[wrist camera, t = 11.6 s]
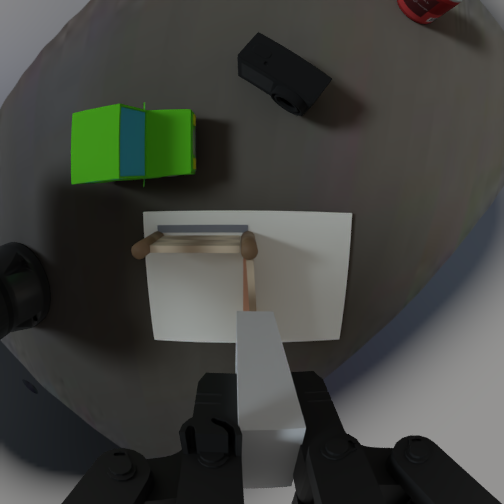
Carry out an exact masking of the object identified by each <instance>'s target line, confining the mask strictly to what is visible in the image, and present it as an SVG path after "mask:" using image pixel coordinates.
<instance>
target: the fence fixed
mask: <svg viewBox="0 0 504 504" xmlns="http://www.w3.org/2000/svg"><path fill="white" fill-rule="evenodd" d="M131 252H132V255H133V256H134V257H135V258H136V259H143V258H144V257H145V256H147V255H148V254H149V253H240V235H176V236H164V234H163V233H161V232H159V231H156V232H154V233H152V234H151V235H149V236H147V237H146V238H144V239H142V240H141V241H139V242H137V243H136V244H134V245H133V246H132V249H131ZM257 254H258V248H257V244H256V239H255V235H254V234H253V233H252V232H251V231H245V232H244V233H243V234H242V235H241V255H242V257H243V258H245V259H247V260H252V259H254V258H255V257H256V256H257Z"/></svg>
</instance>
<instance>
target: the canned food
mask: <svg viewBox="0 0 504 504" xmlns="http://www.w3.org/2000/svg"><path fill="white" fill-rule="evenodd" d="M462 1H463V0H397V2H398V5H399V7H400V9H401V10H402V12H403V13H404V14H405V15H406V16H407V17H408V18H410V19H411V20H413V21H415V22H417V23H420V24H428V23H431V22H433V21H434V20H436V19H437V18H439V17H440V16H442V15H443V14H444V13H446V12H447V11H449V10H450V9H452V8H453V7H455V6H456V5H458V4H459V3H460V2H462Z"/></svg>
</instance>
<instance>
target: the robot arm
mask: <svg viewBox="0 0 504 504" xmlns="http://www.w3.org/2000/svg"><path fill="white" fill-rule="evenodd" d="M49 306H50V289H49V284H48V280H47V277H46V274H45V271H44V269H43V267H42V265H41V263H40V262H39V260H38V259H37V257H36V256H35V255H34V254H33V252H32V251H31V250H29V249H28V248H27V247H26V246H24V245H22V244H20V243H16V242H11V243H7V244H4V245H2V246H0V340H1V339H2V338H3V337H5V336H6V335H7V334H8V333H10V332H14V331H19V330H24V329H29V328H32V327H34V326H36V325H37V324H38V323H39V322H41V321H42V320H43V319H44V318H45V317H46V315H47V313H48V310H49ZM235 366H236V374H226V373H206V374H205V375H204V376H203V377H202V378H201V379H200V381H199V382H198V387H197V395H196V400H195V406H194V413H193V417H192V418H190V419H189V420H188V421H186V422H185V423H184V424H183V425H182V427H181V429H180V431H179V435H180V441H181V446H182V450H181V451H179V452H178V453H176V454H174V455H171V456H167V457H161V458H153V459H145V457H144V456H143V455H141V454H140V453H138V452H136V451H134V450H130V449H125V448H120V449H112V450H110V451H107V452H104V453H103V454H102V455H101V456H100V457H98V458H97V460H96V461H95V462H94V463H93V465H92V466H91V467H90V469H89V470H88V471H87V472H86V474H85V475H84V476H83V477H82V479H81V480H80V481H79V482H78V484H77V485H76V486H75V488H74V489H73V490H72V491H71V493H70V494H69V495H68V497H67V498H66V499H65V500H64V501H63V503H62V504H244V496H243V488H273V487H287V486H291V485H292V481H293V478H294V483H295V488H296V492H295V495H294V498H293V501H292V504H502V503H500V502H499V501H498V500H497V499H496V498H495V497H493V496H492V495H491V494H490V493H489V492H488V491H487V490H486V489H485V488H484V487H482V486H481V485H480V484H479V483H478V482H477V481H476V480H475V479H474V478H473V477H471V476H470V475H469V474H468V473H467V472H466V471H465V470H464V469H462V467H460V466H459V465H458V464H457V463H456V462H455V461H454V460H453V459H452V458H451V457H449V456H448V455H447V454H446V453H445V452H444V451H443V450H442V449H441V448H440V447H438V445H436V444H435V443H434V442H433V441H431V440H430V439H428V438H426V437H422V436H407V437H404V438H402V439H401V440H399V441H398V442H397V443H396V444H395V446H394V448H374V447H366V446H363V445H360V443H359V442H358V441H357V439H356V438H354V437H352V436H351V435H349V434H346V432H345V431H344V429H343V426H342V424H341V421H340V419H339V416H338V414H337V412H336V409H335V407H334V404H333V402H332V401H331V397H330V395H329V393H328V392H327V388H326V386H325V383H324V381H323V379H322V378H321V377H319V376H318V375H317V374H316V373H315V372H314V371H307V372H290V369H289V365H288V362H287V358H286V355H285V351H284V348H283V344H282V340H281V337H280V333H279V330H278V326H277V323H276V319H275V316H274V312H270V311H237V315H236V365H235Z"/></svg>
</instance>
